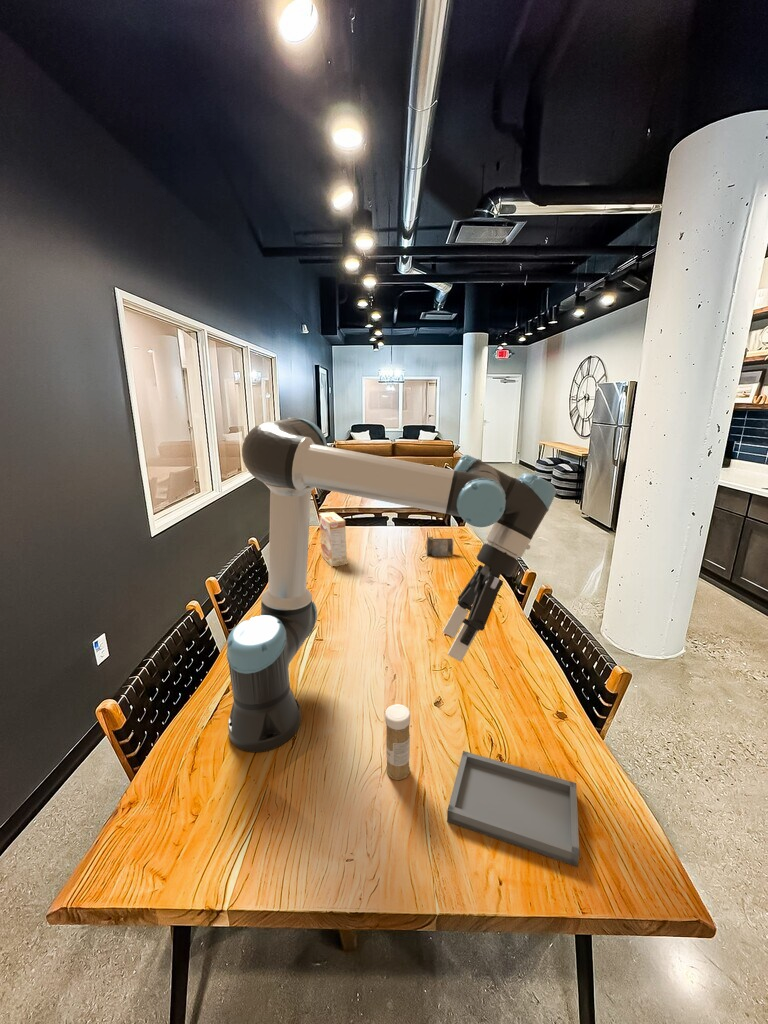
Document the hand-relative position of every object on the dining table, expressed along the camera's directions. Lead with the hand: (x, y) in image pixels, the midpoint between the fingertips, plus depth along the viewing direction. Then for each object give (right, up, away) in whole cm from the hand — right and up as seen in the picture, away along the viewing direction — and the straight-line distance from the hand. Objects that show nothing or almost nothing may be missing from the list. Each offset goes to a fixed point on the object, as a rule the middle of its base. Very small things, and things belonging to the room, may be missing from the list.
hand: (450, 645), depth 84 cm
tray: (+9, -25, -10) cm, 28 cm away
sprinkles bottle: (-10, -23, -3) cm, 26 cm away
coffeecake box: (-35, +5, +101) cm, 107 cm away
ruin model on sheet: (+11, +7, +104) cm, 105 cm away
